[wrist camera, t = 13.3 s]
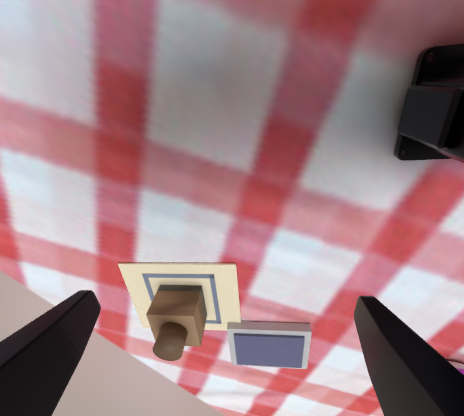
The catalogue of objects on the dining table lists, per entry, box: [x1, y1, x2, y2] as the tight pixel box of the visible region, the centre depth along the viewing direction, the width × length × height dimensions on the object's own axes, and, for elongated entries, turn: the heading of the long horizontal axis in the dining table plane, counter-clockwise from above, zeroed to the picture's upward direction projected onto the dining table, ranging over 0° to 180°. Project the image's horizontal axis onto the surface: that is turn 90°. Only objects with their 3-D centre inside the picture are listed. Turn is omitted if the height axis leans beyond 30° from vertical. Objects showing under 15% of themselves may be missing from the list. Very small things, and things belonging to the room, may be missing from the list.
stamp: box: [146, 285, 207, 361], centre depth 23 cm, size 4×4×6 cm
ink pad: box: [227, 321, 312, 369], centre depth 28 cm, size 9×7×1 cm
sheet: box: [118, 263, 241, 331], centre depth 26 cm, size 12×10×1 cm
